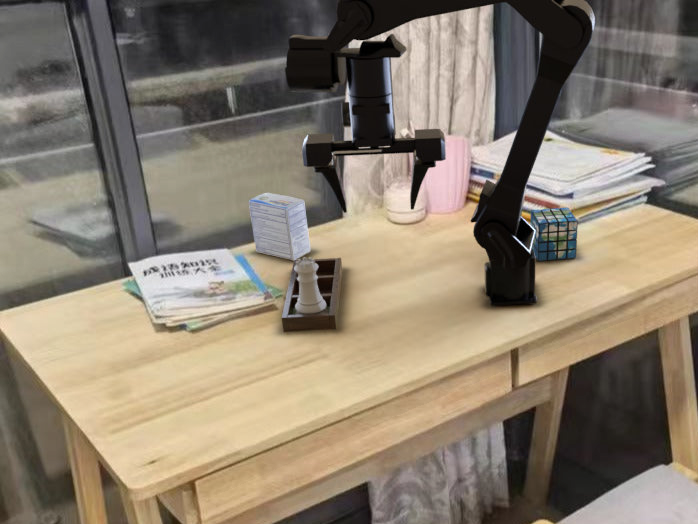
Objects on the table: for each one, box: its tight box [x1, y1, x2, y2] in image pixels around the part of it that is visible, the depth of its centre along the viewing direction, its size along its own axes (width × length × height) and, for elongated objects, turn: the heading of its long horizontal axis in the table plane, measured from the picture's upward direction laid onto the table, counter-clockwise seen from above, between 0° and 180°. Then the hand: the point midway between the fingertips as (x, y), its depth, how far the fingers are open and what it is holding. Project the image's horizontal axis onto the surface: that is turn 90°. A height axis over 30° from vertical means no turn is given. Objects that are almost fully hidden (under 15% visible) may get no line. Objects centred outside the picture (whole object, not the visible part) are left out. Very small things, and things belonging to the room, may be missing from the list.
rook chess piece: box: [294, 256, 328, 315], centre depth 127 cm, size 4×4×8 cm
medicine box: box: [248, 192, 312, 261], centre depth 148 cm, size 8×4×9 cm, turn 58°
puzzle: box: [529, 207, 579, 262], centre depth 145 cm, size 6×6×6 cm
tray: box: [281, 257, 344, 333], centre depth 134 cm, size 7×20×2 cm, turn 3°
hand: (378, 210), depth 130 cm, fingers open, 9 cm apart
